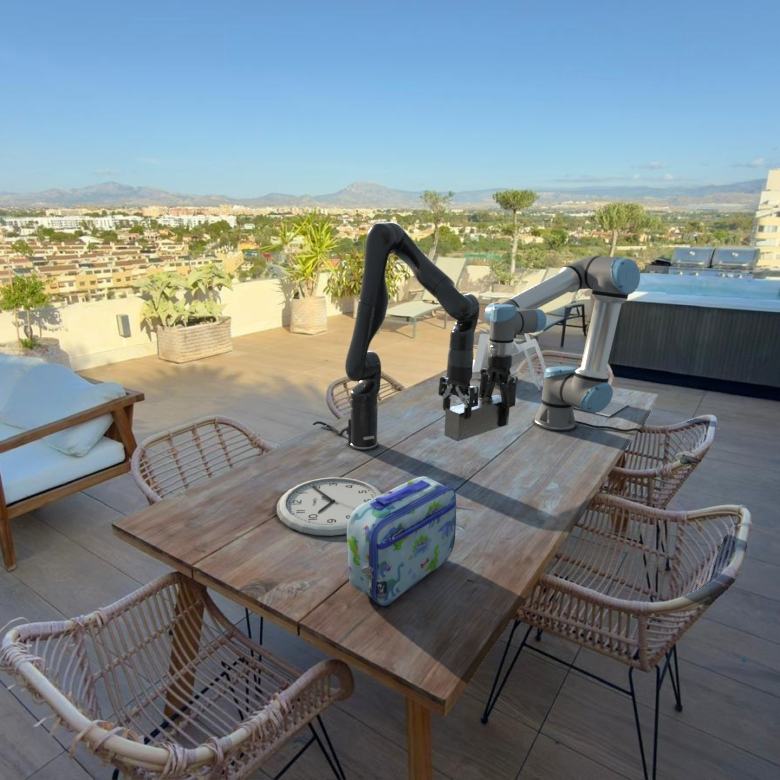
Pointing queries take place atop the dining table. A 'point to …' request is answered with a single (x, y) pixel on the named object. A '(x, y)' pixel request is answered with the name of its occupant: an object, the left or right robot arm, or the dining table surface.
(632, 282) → the right robot arm
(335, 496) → the wall clock
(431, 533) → the lunch box
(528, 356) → the white plastic object
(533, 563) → the dining table surface
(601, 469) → the dining table surface
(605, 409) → the invitation card
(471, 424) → the box
